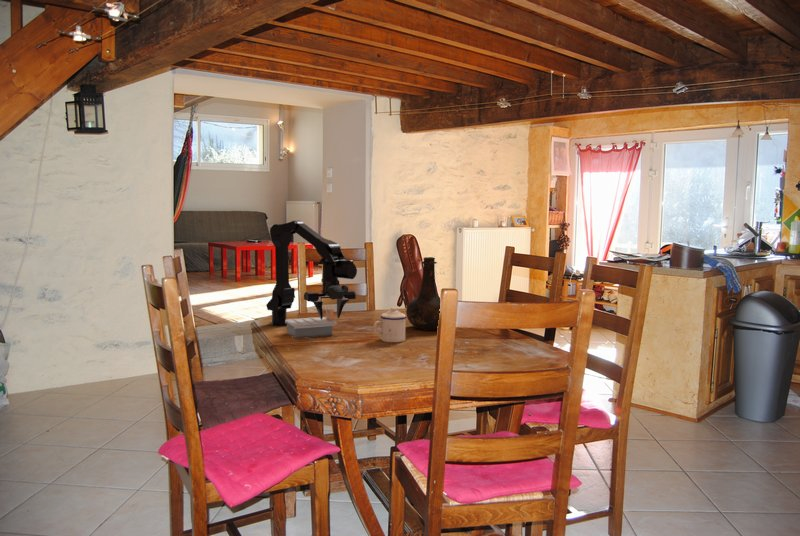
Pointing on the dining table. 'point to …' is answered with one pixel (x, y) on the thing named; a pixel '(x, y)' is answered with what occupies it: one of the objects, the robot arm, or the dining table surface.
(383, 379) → the dining table surface
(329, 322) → the lid
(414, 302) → the glass bottle
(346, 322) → the dining table surface
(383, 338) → the teacup with lid
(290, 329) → the tub
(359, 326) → the dining table surface
